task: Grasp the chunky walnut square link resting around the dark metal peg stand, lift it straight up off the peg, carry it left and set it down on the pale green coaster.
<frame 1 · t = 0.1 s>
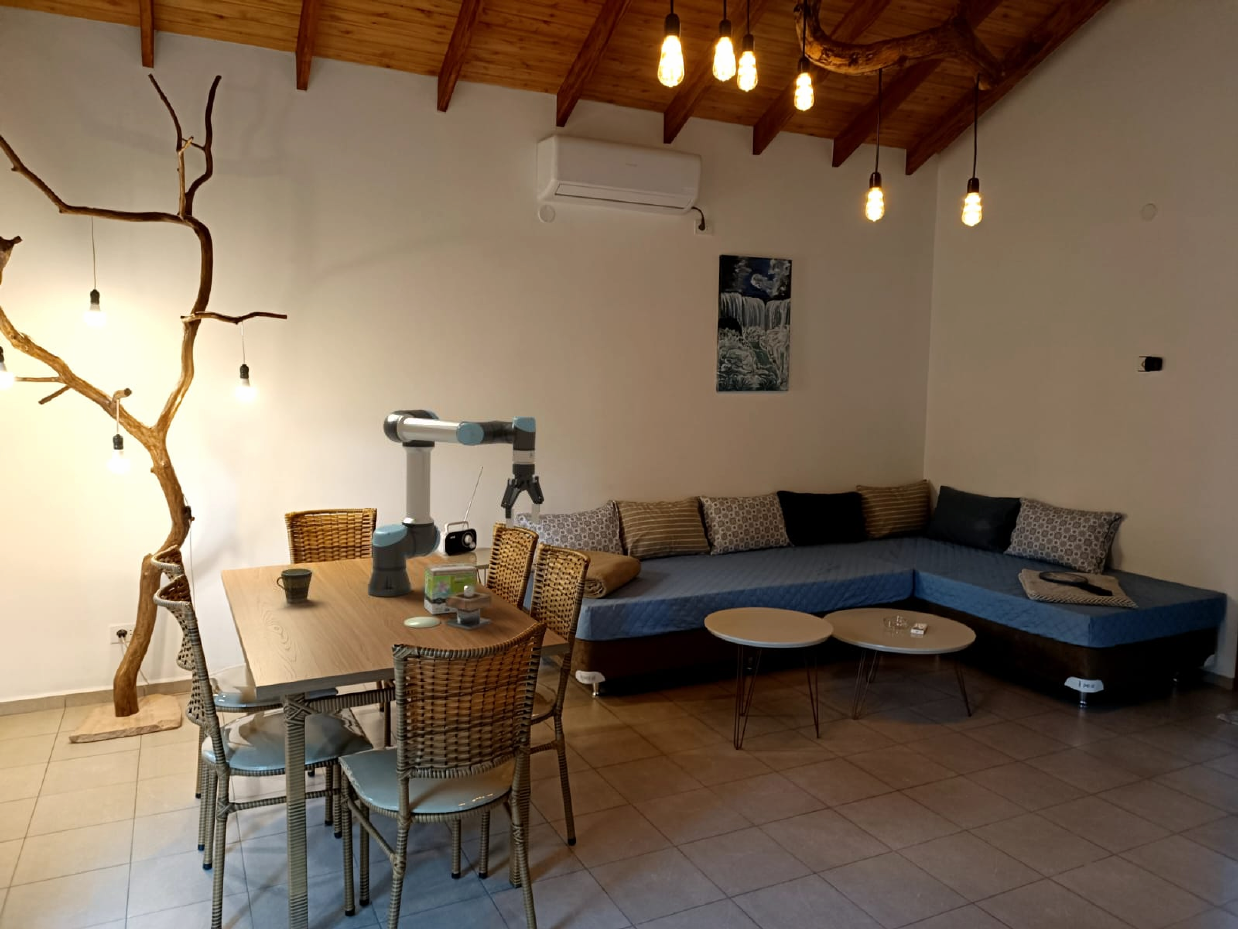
hand: (522, 525, 291), 28 cm above the table, fingers open, 13 cm apart
ceramic cup: (293, 602, 292), on the table
peg stand: (468, 623, 271), on the table
tea box: (450, 610, 287), on the table
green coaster: (422, 622, 271), on the table
walnut link: (468, 605, 271), point 6 cm above the table, touching peg stand
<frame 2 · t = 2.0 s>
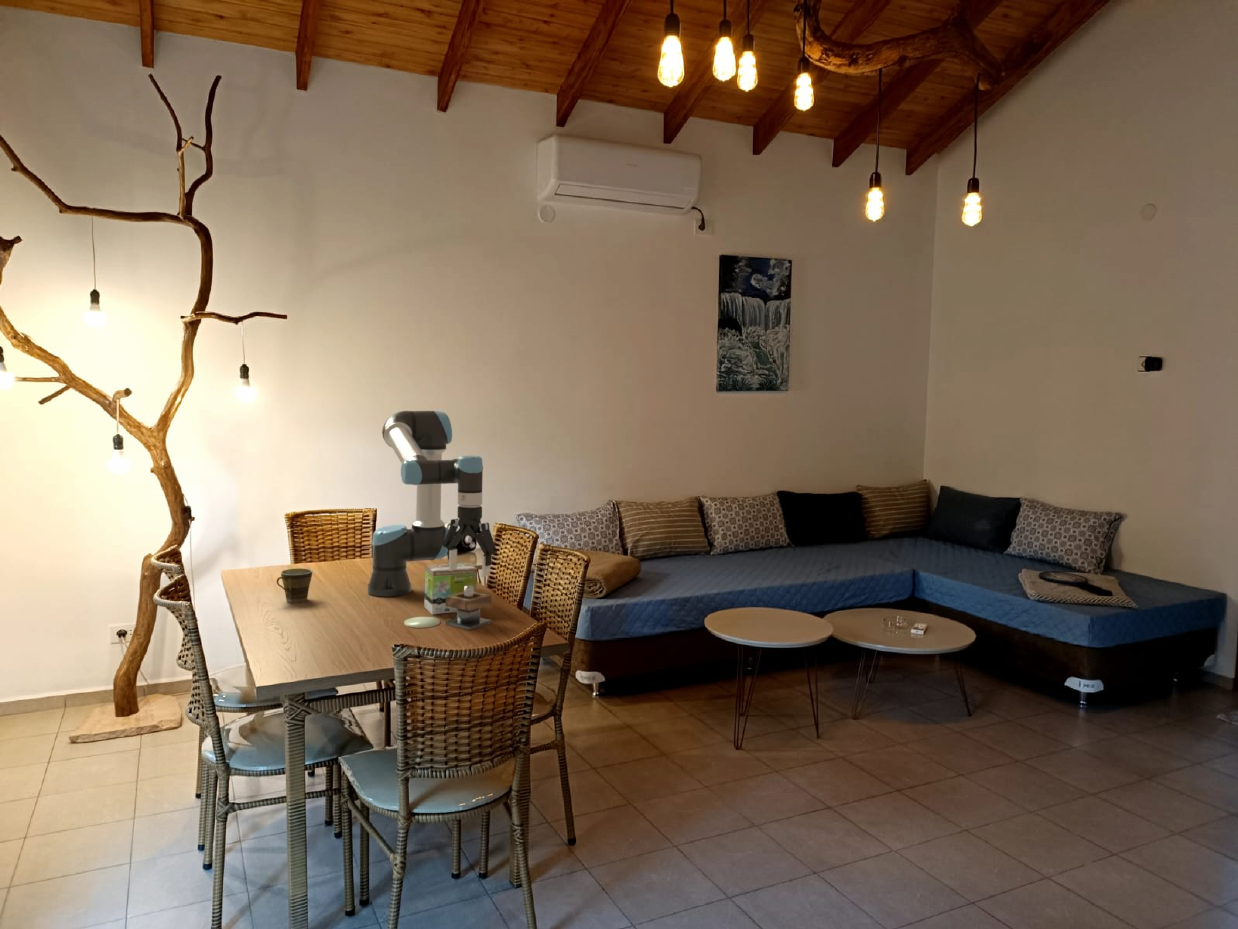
hand: (469, 573, 270), 16 cm above the table, fingers open, 13 cm apart
nothing on the table moved.
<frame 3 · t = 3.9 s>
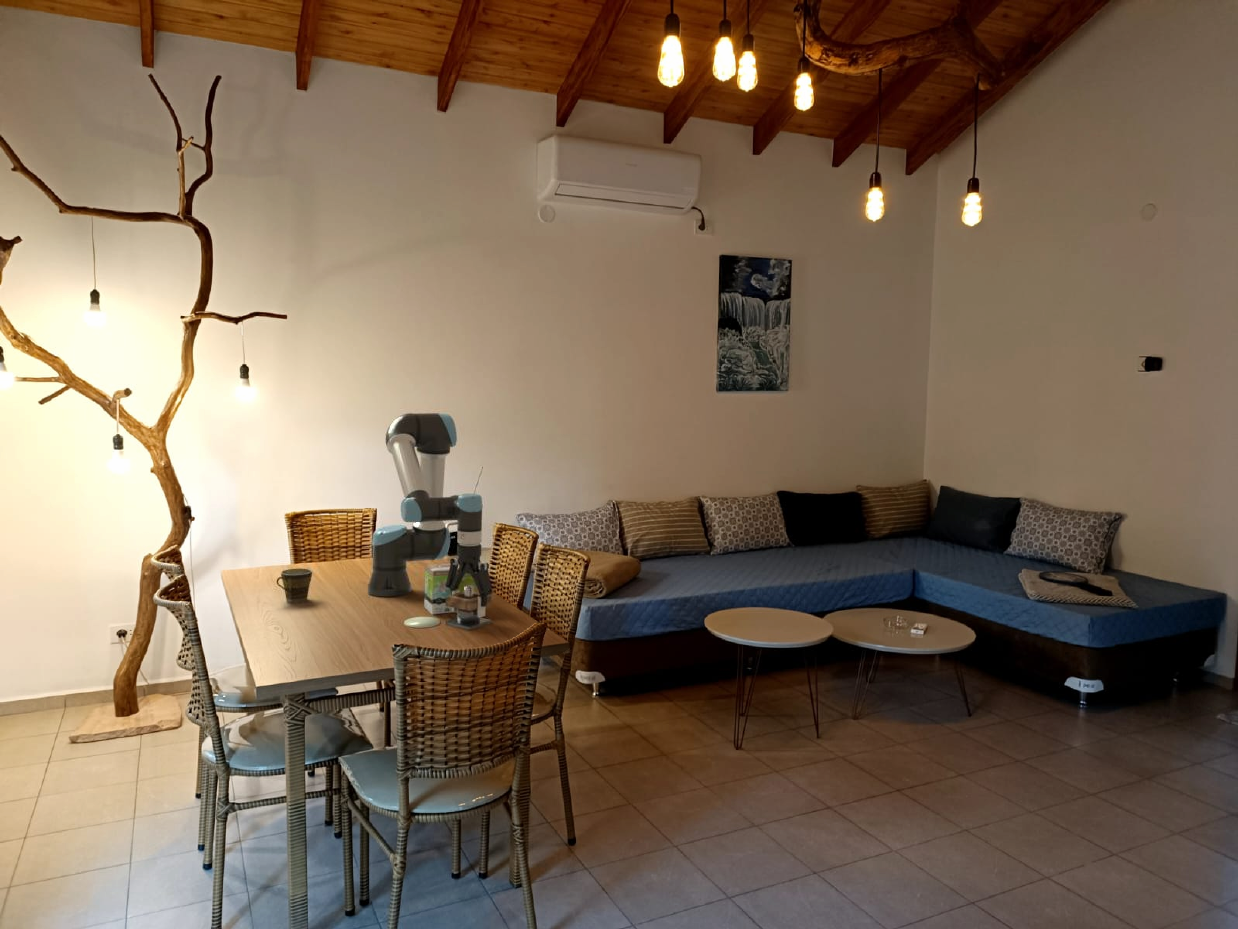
hand: (468, 613, 271), 3 cm above the table, fingers closed on walnut link, 10 cm apart
walnut link: (468, 605, 271), point 6 cm above the table, touching gripper, peg stand
everything else where it was.
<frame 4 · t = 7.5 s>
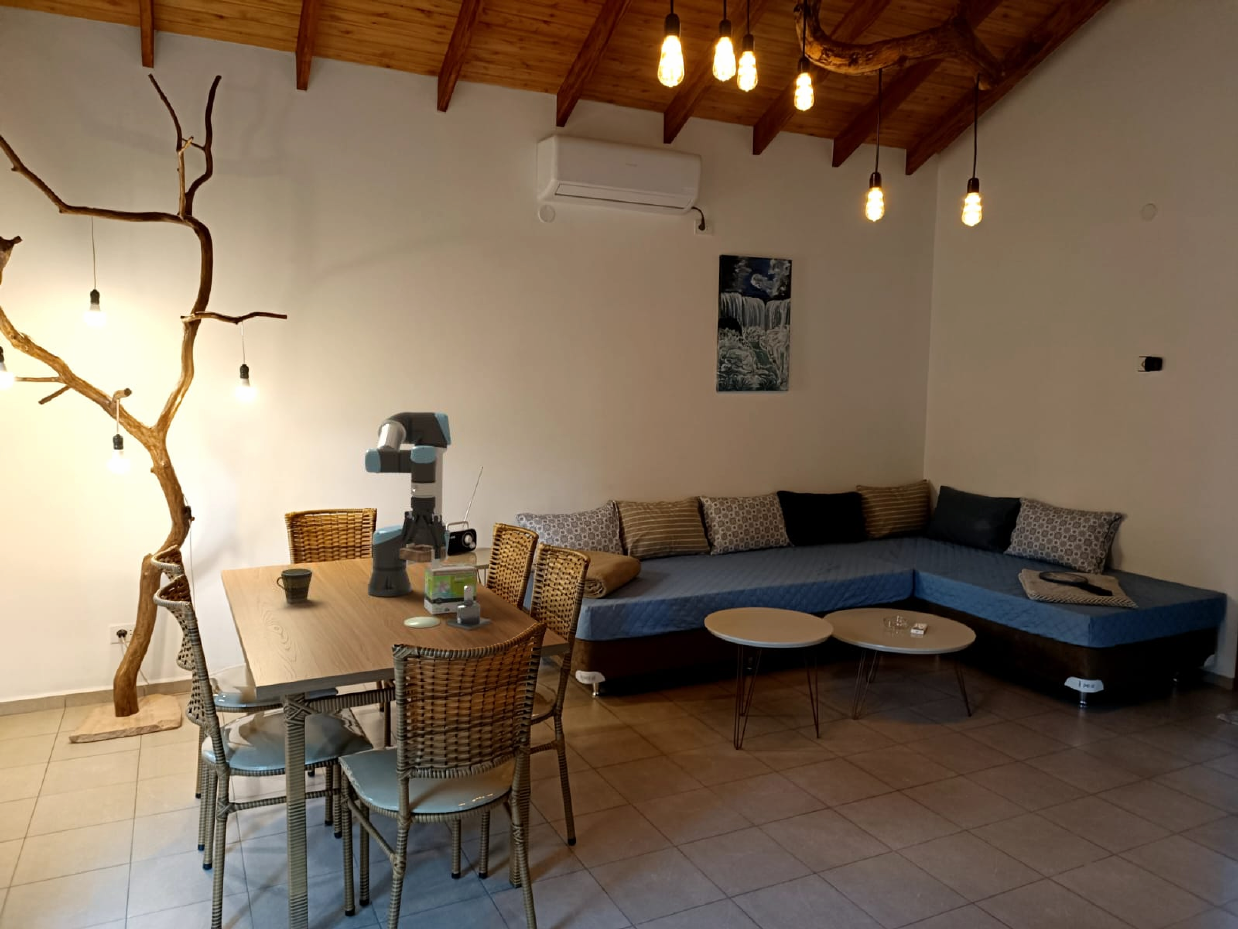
hand: (422, 566, 269), 18 cm above the table, fingers closed on walnut link, 10 cm apart
walnut link: (422, 558, 269), point 21 cm above the table, touching gripper
everything else where it was.
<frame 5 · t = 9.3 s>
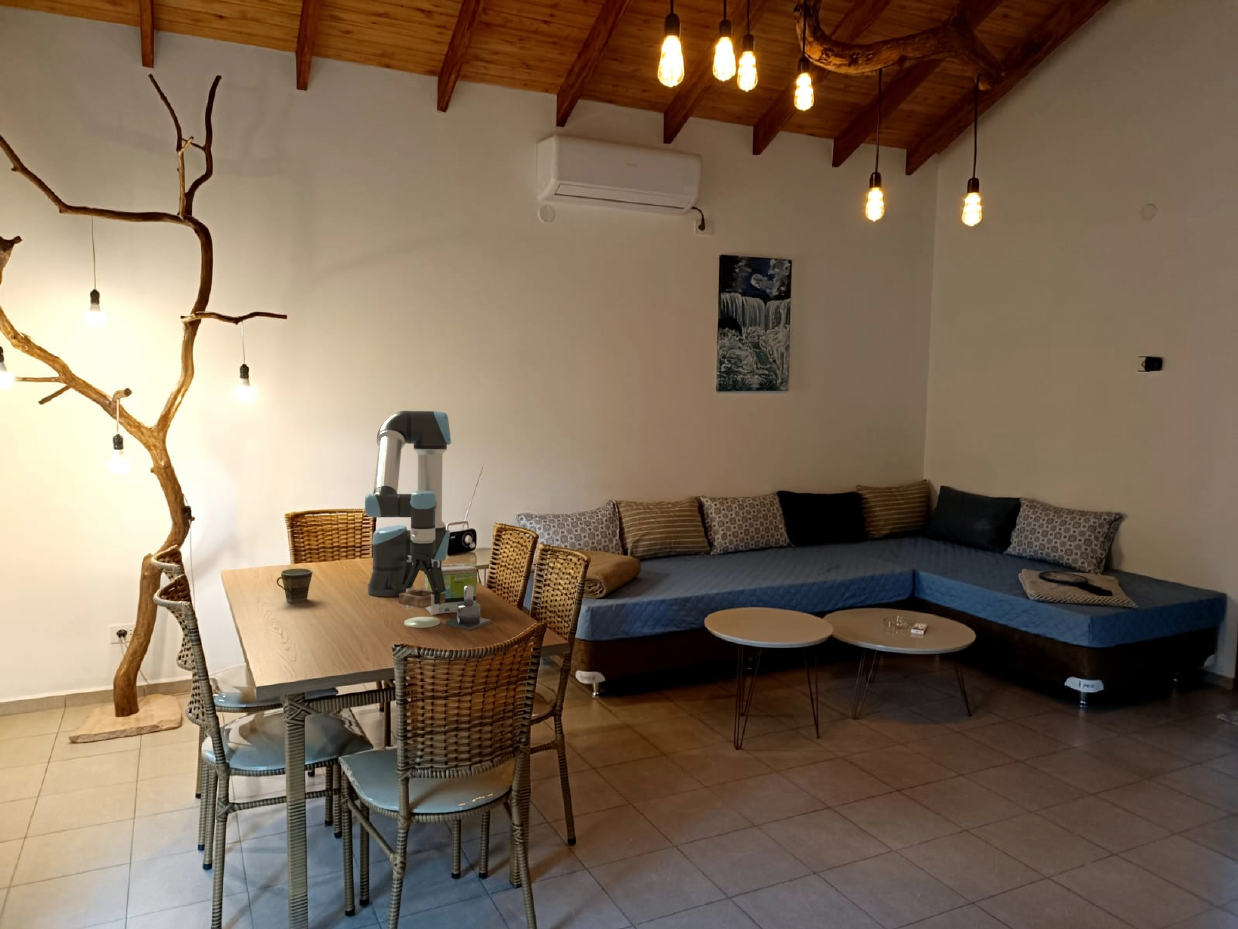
hand: (422, 611, 270), 4 cm above the table, fingers closed on walnut link, 10 cm apart
walnut link: (422, 602, 270), point 7 cm above the table, touching gripper
everything else where it was.
when the fingers open (1 cm above the table, at t = 10.9 s): walnut link drops 3 cm, resting on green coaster.
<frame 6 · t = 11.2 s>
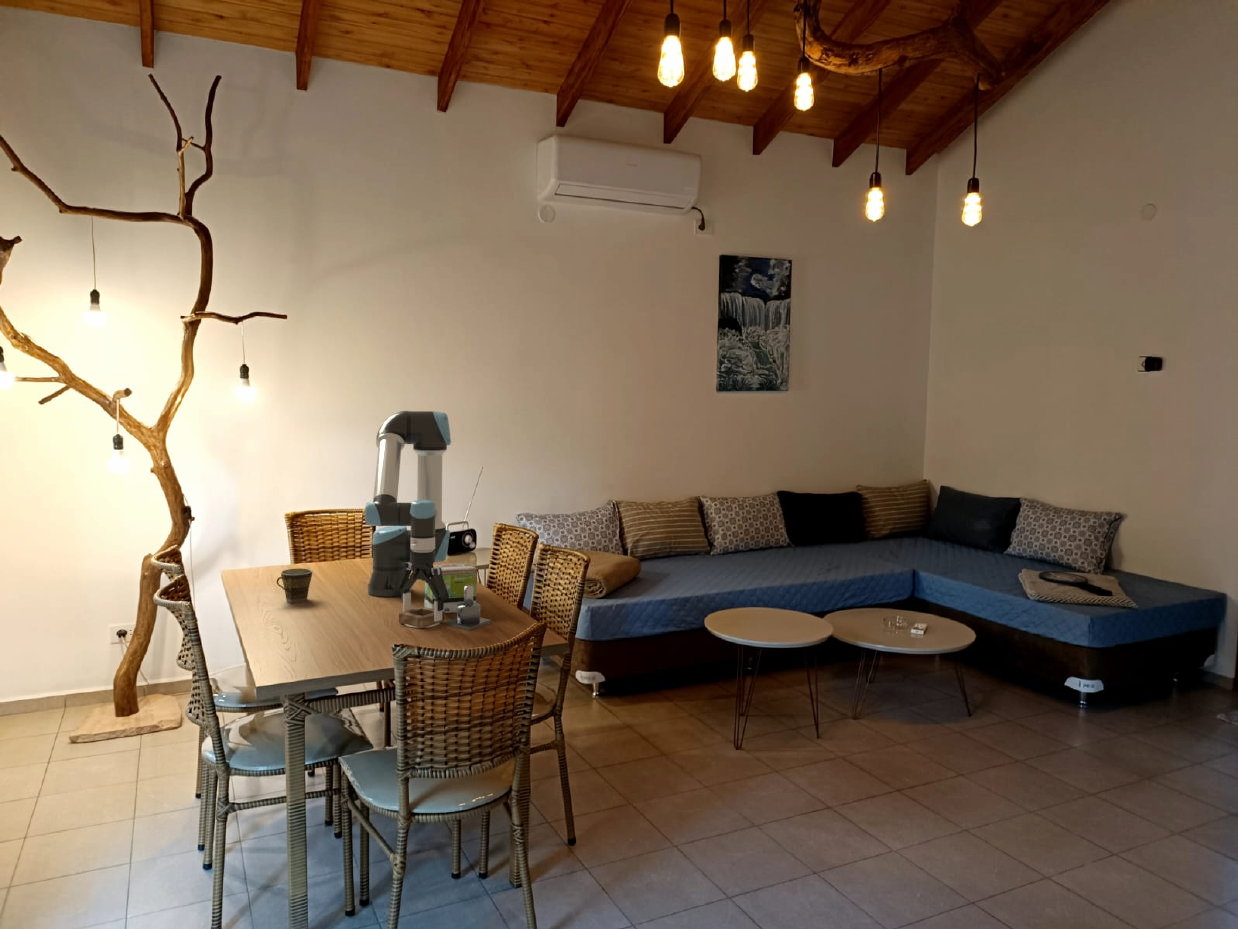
hand: (422, 617, 271), 2 cm above the table, fingers open, 13 cm apart
walnut link: (422, 621, 271), resting on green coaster
everything else where it was.
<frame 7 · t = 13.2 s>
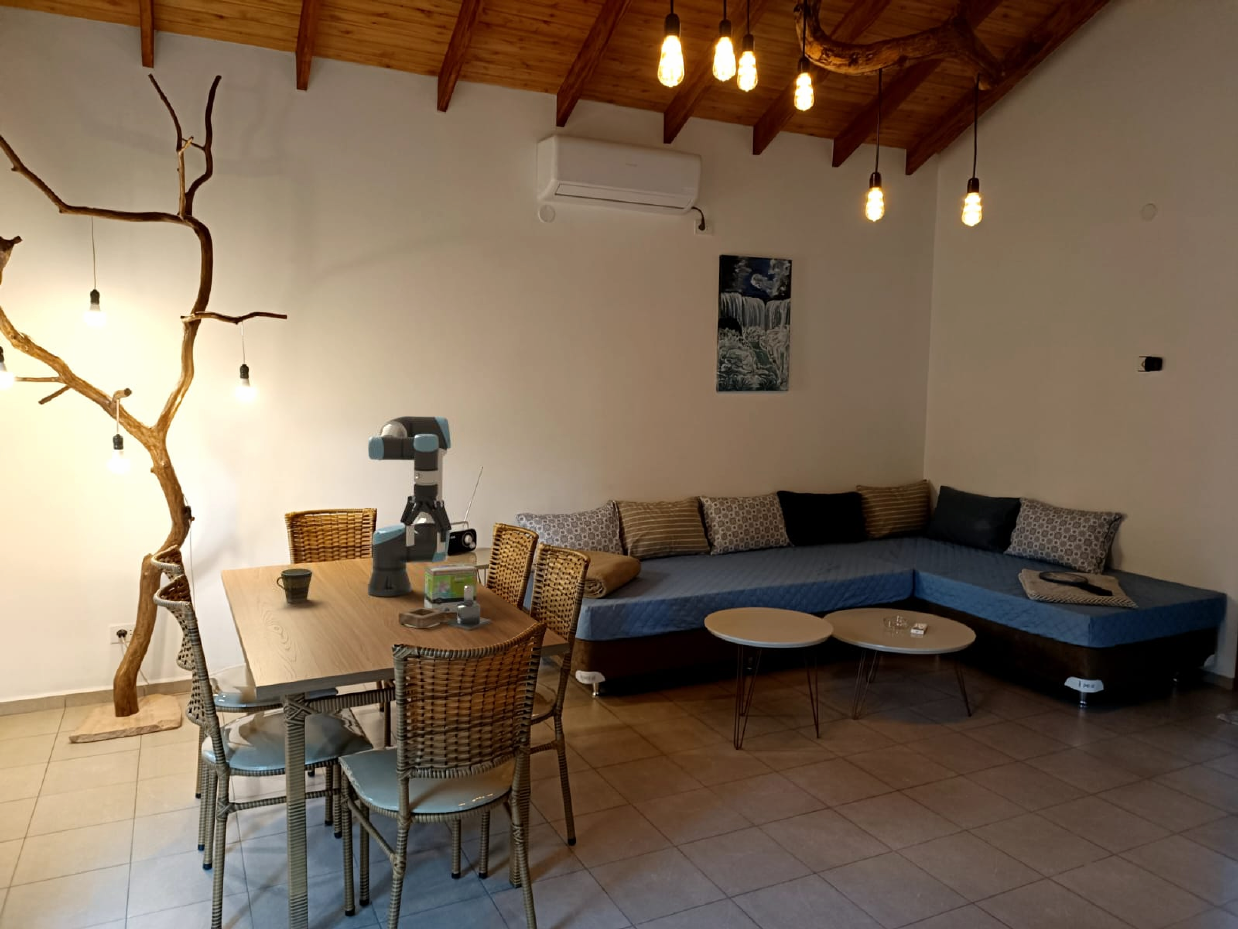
hand: (425, 548, 276), 22 cm above the table, fingers open, 13 cm apart
nothing on the table moved.
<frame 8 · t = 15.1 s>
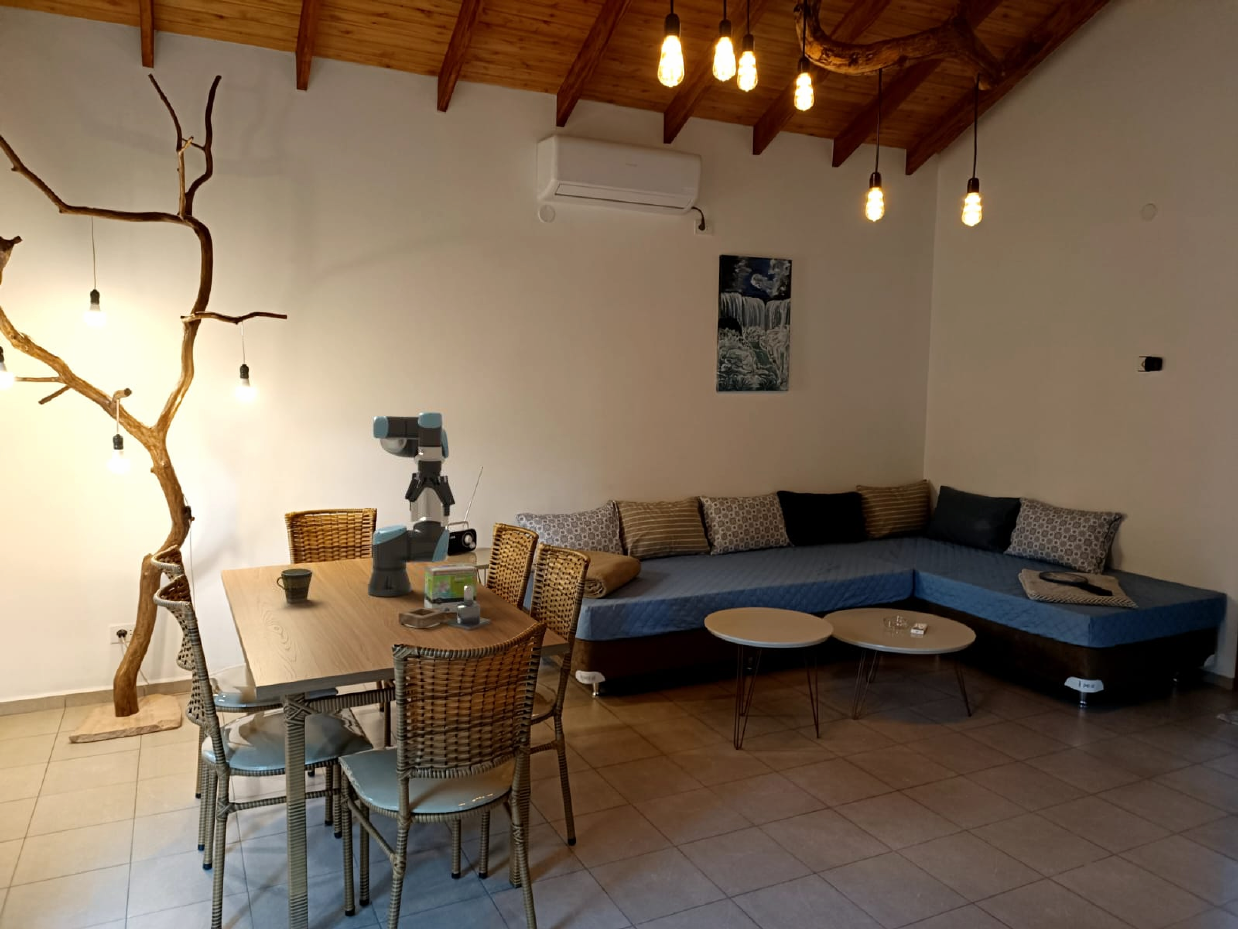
hand: (429, 523, 284), 29 cm above the table, fingers open, 13 cm apart
nothing on the table moved.
at the end: walnut link 0.0 cm from the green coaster (horizontally); walnut link resting on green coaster; the gripper is holding nothing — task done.
